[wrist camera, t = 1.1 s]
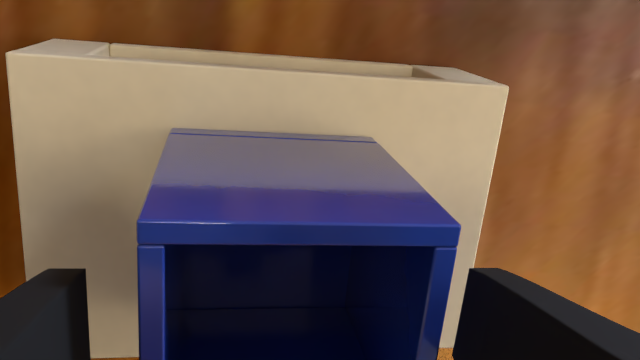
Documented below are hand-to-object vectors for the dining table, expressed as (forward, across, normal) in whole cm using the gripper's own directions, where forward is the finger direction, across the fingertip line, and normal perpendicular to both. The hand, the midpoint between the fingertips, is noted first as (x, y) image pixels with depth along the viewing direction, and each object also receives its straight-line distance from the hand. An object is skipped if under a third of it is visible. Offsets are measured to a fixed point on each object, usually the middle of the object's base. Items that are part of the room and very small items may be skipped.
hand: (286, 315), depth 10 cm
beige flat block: (+8, 0, 0) cm, 8 cm away
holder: (+4, 0, 0) cm, 4 cm away
